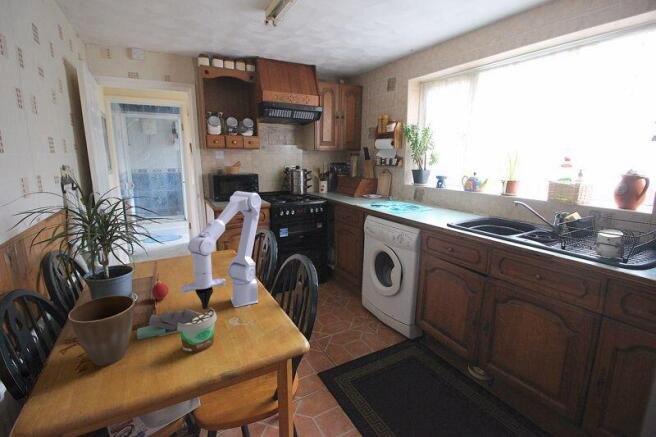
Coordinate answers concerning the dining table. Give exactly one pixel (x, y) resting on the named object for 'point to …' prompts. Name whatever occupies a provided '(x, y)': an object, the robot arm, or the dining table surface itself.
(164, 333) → the coaster
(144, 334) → the domino
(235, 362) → the dining table surface
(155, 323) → the domino
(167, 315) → the domino
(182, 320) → the domino
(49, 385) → the dining table surface
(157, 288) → the onion
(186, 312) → the domino
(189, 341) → the food container
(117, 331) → the plant pot
